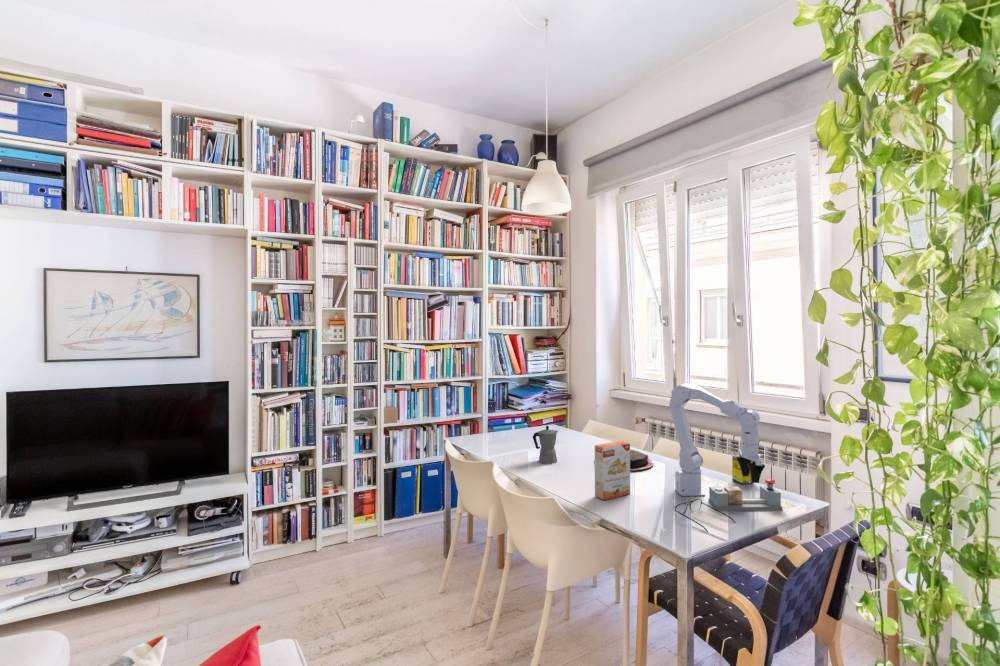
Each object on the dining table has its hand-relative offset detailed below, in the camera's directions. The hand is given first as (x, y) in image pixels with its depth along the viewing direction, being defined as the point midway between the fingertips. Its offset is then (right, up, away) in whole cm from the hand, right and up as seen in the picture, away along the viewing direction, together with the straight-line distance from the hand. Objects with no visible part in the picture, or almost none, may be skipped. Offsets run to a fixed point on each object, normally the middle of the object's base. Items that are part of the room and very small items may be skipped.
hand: (750, 479), depth 180 cm
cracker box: (-48, -11, +14) cm, 51 cm away
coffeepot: (-70, -10, +62) cm, 94 cm away
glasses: (-22, -12, -11) cm, 27 cm away
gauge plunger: (+7, -4, 0) cm, 9 cm away
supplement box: (+10, -9, +26) cm, 30 cm away
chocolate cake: (-33, -10, +56) cm, 66 cm away
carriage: (-6, -9, +1) cm, 11 cm away
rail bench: (-2, -10, 0) cm, 10 cm away
